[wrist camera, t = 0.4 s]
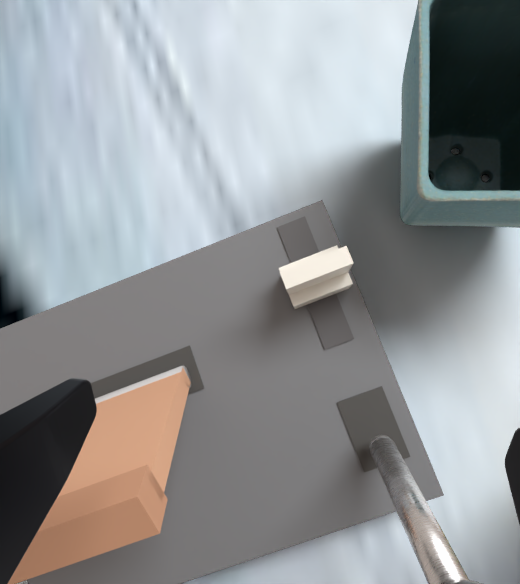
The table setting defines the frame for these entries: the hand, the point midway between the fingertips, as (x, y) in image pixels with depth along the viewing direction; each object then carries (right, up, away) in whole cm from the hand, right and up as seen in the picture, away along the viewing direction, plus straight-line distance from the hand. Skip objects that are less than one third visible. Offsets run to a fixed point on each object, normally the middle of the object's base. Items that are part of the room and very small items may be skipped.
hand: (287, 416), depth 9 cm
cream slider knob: (+2, +3, +13) cm, 13 cm away
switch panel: (-4, -4, +16) cm, 17 cm away
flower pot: (+11, +9, +15) cm, 21 cm away
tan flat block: (-10, -4, +14) cm, 17 cm away
